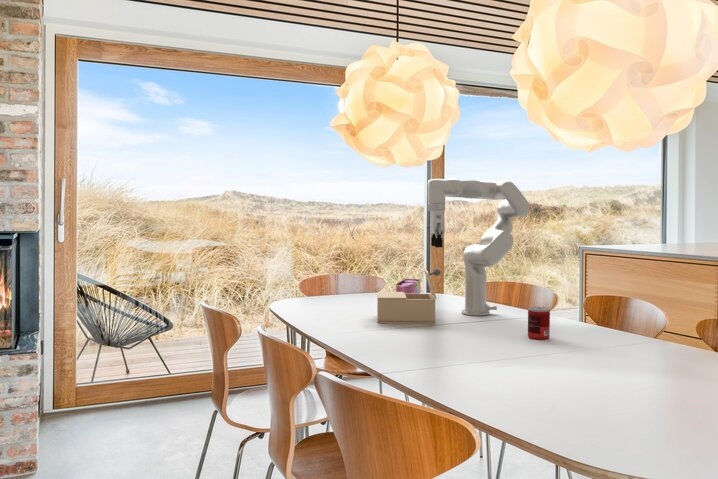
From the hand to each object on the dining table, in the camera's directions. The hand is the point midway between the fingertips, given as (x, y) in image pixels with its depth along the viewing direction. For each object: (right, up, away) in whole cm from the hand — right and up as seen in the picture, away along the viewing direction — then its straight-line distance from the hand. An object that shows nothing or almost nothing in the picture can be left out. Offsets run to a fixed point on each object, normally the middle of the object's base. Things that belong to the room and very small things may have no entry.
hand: (436, 246), depth 249 cm
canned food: (+32, -33, -40) cm, 61 cm away
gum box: (-11, -31, +23) cm, 40 cm away
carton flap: (-4, -16, -4) cm, 17 cm away
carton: (-14, -32, -3) cm, 35 cm away
